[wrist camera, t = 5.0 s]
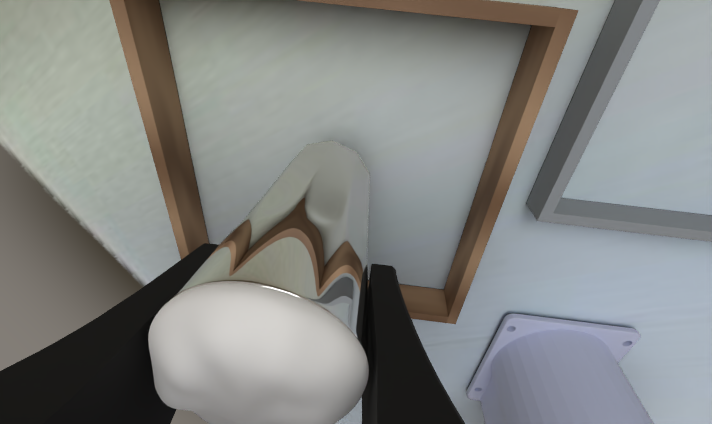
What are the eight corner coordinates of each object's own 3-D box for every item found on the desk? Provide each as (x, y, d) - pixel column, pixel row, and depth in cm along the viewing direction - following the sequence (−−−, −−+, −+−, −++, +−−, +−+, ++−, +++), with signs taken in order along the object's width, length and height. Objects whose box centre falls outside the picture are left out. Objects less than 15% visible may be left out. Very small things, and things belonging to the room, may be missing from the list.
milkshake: (277, 227, 16) (136, 506, 7) (272, 114, 12) (21, 382, 4) (375, 243, 15) (341, 546, 7) (395, 132, 12) (374, 447, 4)
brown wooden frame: (450, 296, 20) (455, 323, 19) (205, 266, 21) (189, 290, 19) (552, 6, 12) (578, 10, 10) (137, -36, 12) (98, -40, 11)
